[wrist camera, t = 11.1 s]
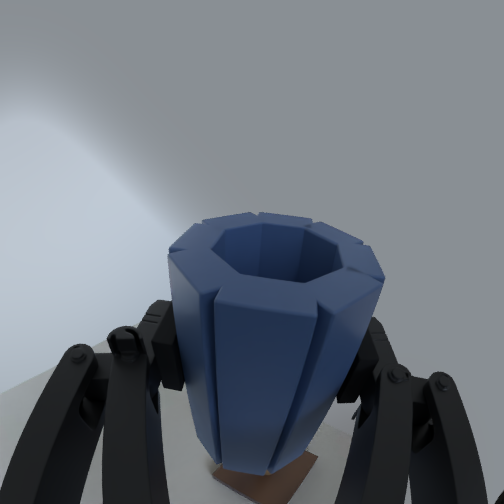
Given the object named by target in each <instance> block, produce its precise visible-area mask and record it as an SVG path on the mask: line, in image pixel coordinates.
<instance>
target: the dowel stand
mask: <svg viewBox="0 0 504 504" xmlns="http://www.w3.org/2000/svg"><path fill="white" fill-rule="evenodd" d="M317 458H318V456H316V455H314V454H311V453H309V452H307V451H304V452H303V454H302V455H301V456H299V457H298V458H296V459H295V460H293V461H292V462H290V463H289V464H287V465H286V466H284V467H283V468H281V469H279V470H278V471H276V472H275V473H273V474H270V473H269V471H268V470H266V472H265V475H264V476H262V475H255V474H249V473H243V472H237V471H232V470H227V469H224V468H223V464H222V465H221V466H220V467H219V468H218V469H217V470H216V471H215V472H214V473H213V474H212V476H213V478H214V479H216V480H217V481H219V482H220V483H222V484H223V485H225V486H227V487H228V488H230V489H232V490H233V491H235V492H237V493H239V494H240V495H242V496H244V497H246V498H247V499H249V500H251V501H253V502H255V503H257V504H287V503H288V501H289V500H290V499H291V497H292V496H293V495H294V493H295V492H296V490H297V489H298V487H299V486H300V484H301V483H302V481H303V480H304V478H305V477H306V475H307V474H308V472H309V471H310V469H311V468H312V466H313V464H314V463H315V461H316V460H317Z"/></svg>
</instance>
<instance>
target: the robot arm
mask: <svg viewBox="0 0 504 504" xmlns="http://www.w3.org/2000/svg"><path fill="white" fill-rule="evenodd" d="M107 341H108V344H109V347H110V349H111V352H112V353H94V351H93V349H92V348H91V347H90V346H88V345H86V344H77V345H73V346H72V347H70V348H69V349H68V350H67V351H66V352H65V354H64V355H63V357H62V359H61V360H60V362H59V364H58V365H57V367H56V369H55V370H54V372H53V374H52V376H51V377H50V379H49V381H48V383H47V384H46V386H45V388H44V390H43V392H42V394H41V396H40V397H39V399H38V401H37V403H36V405H35V407H34V409H33V411H32V413H31V415H30V417H29V419H28V421H27V424H26V426H25V428H24V430H23V432H22V434H21V437H20V439H19V441H18V444H17V446H16V448H15V451H14V453H13V456H12V458H11V461H10V464H9V466H8V469H7V472H6V475H5V477H4V480H3V483H2V487H1V490H0V504H80V501H81V497H82V493H83V489H84V485H85V482H86V478H87V475H88V471H89V468H90V465H91V462H92V458H93V455H94V452H95V449H96V446H97V443H98V440H99V437H100V434H101V431H102V428H103V425H104V432H103V452H102V492H103V504H170V501H169V495H168V488H167V480H166V472H165V463H164V453H163V442H162V429H161V411H160V394H159V390H158V388H159V385H160V382H161V380H162V384H163V387H164V388H168V389H173V390H178V391H182V388H183V385H184V382H185V379H184V374H183V368H182V363H181V357H180V351H179V345H178V339H177V333H176V326H175V319H174V311H173V304H172V301H165V300H157V301H156V302H154V303H153V304H152V305H151V306H150V307H149V309H148V310H147V312H146V315H144V317H143V319H142V321H141V322H140V324H139V325H138V327H137V328H135V327H131V326H123V327H119V328H116V329H115V330H113V331H112V332H110V333H109V335H108V337H107ZM359 395H360V399H361V404H360V406H359V407H358V409H357V410H356V412H355V413H354V415H353V417H352V419H353V420H354V419H355V417H356V422H355V427H354V432H353V437H352V441H351V446H350V450H349V454H348V458H347V462H346V466H345V470H344V474H343V477H342V481H341V484H340V488H339V491H338V494H337V497H336V501H335V504H404V500H405V495H406V489H407V482H408V475H409V480H410V489H411V500H412V504H488V500H487V494H486V487H485V482H484V477H483V472H482V467H481V463H480V459H479V455H478V451H477V447H476V443H475V440H474V436H473V433H472V430H471V426H470V423H469V420H468V417H467V414H466V411H465V409H464V406H463V403H462V400H461V397H460V395H459V392H458V390H457V387H456V384H455V382H454V381H453V379H452V377H450V376H449V375H448V374H446V373H444V372H435V373H433V374H432V375H431V376H430V377H429V379H424V378H418V377H414V376H411V373H410V372H409V370H408V369H407V368H406V367H404V366H403V365H401V364H398V362H397V360H396V357H395V355H394V352H393V350H392V347H391V345H390V342H389V341H388V338H387V336H386V334H385V331H384V328H383V326H382V324H381V323H380V322H379V321H378V320H377V319H376V318H375V317H372V318H371V320H370V323H369V325H368V328H367V330H366V333H365V335H364V338H363V340H362V342H361V345H360V347H359V349H358V352H357V354H356V356H355V358H354V361H353V363H352V365H351V367H350V369H349V371H348V373H347V376H346V378H345V380H344V382H343V384H342V386H341V388H340V390H339V392H338V394H337V395H336V397H337V403H354V402H355V401H356V400H357V398H358V396H359ZM431 419H432V420H431Z"/></svg>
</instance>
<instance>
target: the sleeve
mask: <svg viewBox="0 0 504 504" xmlns="http://www.w3.org/2000/svg"><path fill="white" fill-rule="evenodd" d="M168 266H169V277H170V287H171V295H172V304H173V311H174V319H175V326H176V333H177V339H178V345H179V351H180V357H181V363H182V368H183V374H184V379H185V384H186V389H187V394H188V399H189V403H190V408H191V412H192V417H193V421H194V425H195V429H196V433H197V437H198V438H199V440H200V441H201V443H202V444H203V446H204V447H205V449H206V450H207V452H208V453H209V455H210V456H211V457H212V459H213V460H214V462H215V463H216V464H220V463H222V462H223V468H224V469H227V470H232V471H237V472H243V473H249V474H255V475H262V476H264V475H265V472H266V470H268V471H269V473H270V474H273V473H275V472H276V471H278V470H279V469H281V468H283V467H284V466H286V465H287V464H289V463H290V462H292V461H293V460H295V459H296V458H298V457H299V456H301V455H302V454H303V452H304V451H305V449H306V448H307V446H308V444H309V443H310V441H311V440H312V438H313V436H314V435H315V433H316V431H317V430H318V428H319V426H320V425H321V423H322V421H323V419H324V418H325V416H326V414H327V412H328V410H329V409H330V407H331V405H332V403H333V401H334V399H335V397H336V395H337V394H338V392H339V390H340V388H341V386H342V384H343V382H344V380H345V378H346V376H347V373H348V371H349V369H350V367H351V365H352V363H353V361H354V358H355V356H356V354H357V352H358V349H359V347H360V345H361V342H362V340H363V338H364V335H365V333H366V330H367V328H368V325H369V323H370V320H371V318H372V315H373V312H374V309H375V307H376V304H377V301H378V299H379V296H380V293H381V290H382V287H383V283H384V280H385V276H384V274H383V271H382V269H381V267H380V265H379V263H378V261H377V259H376V257H375V255H374V253H373V251H372V249H371V247H370V246H367V245H363V241H362V240H360V239H358V238H356V237H353V236H351V235H349V234H347V233H345V232H343V231H340V230H338V229H336V228H334V227H332V226H329V225H327V224H325V223H323V222H316V223H312V219H311V218H303V217H296V216H288V215H280V214H272V213H264V212H259V214H258V216H257V215H255V214H253V213H251V212H248V213H242V214H236V215H230V216H223V217H217V218H212V219H205V220H202V224H196V223H195V224H193V226H191V227H190V228H189V229H188V230H187V231H186V232H185V233H184V234H183V235H182V236H181V237H179V238H178V239H177V240H176V241H175V242H174V243H173V244H172V245H171V246H170V247H169V254H168Z"/></svg>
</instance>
